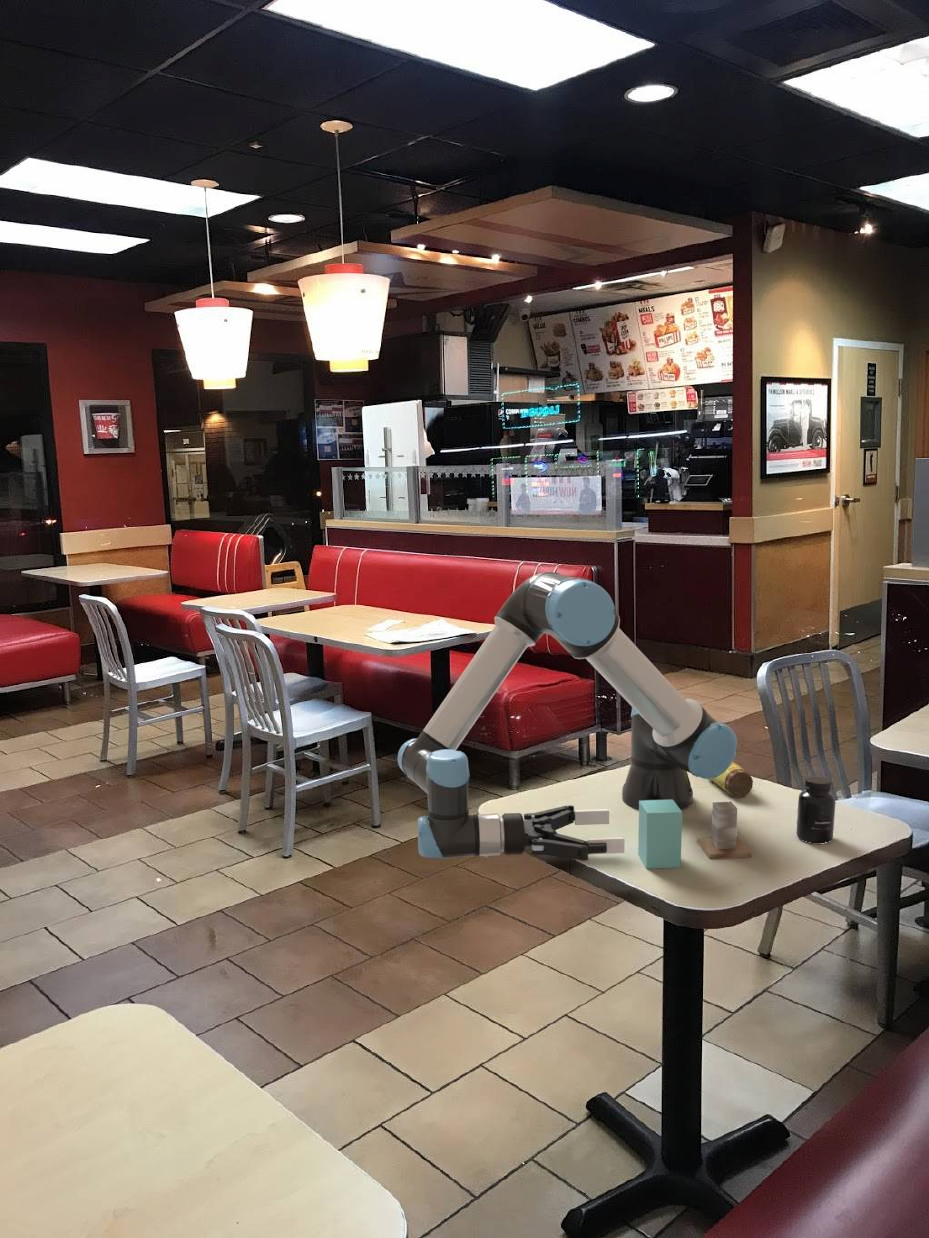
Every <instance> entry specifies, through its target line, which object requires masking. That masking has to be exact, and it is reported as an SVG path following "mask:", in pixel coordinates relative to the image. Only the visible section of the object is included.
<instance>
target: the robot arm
mask: <svg viewBox="0 0 929 1238" xmlns="http://www.w3.org/2000/svg"><path fill="white" fill-rule="evenodd" d="M493 619H494V627H493V629H491V631H490V632H489V634H488V636H487V637H486V638H485V640H484V641H483V642H482V644H481V646H480V647H479V649H478V650H477V651H476V653H475V654H474V656H473V657H472V659H471V660H470V661H469V663H468V664H467V666H466V667H465V669H464V670H463V672H462V673H461V674H460V676H459V677H458V679H457V680H456V682H455V683H454V685H453V686H452V687H451V689H450V691H449V692H448V693H447V695H446V697H445V698H444V699H443V701H442V702H441V703H440V705H439V707H438V708H437V710H436V711H435V713H433V716H432V717H431V718H430V720H429V721H428V723H427V724H426V726H425V727H424V728H423V730H422V731H421V733H420V734H419V736H418V737H417V738H411V739H409V740H407V741H405V742H404V743H403V744H402V745H401V746H400V748H399V750H398V753H397V764H398V767H399V768H400V769H401V771H402V772H403V773H404V775H405V776H406V777H407V779H409V780H410V781H412V782H413V783H415V784H416V785H417V786H418V787H419V788H421V790H422V791H424V793H426V794H427V807H428V808H427V815H423V816H422V815H421V816H420V817H419V818H418V819H417V843H418V844H417V845H418V846H417V847H418V848H417V849H418V853H419V855H420V856H421V857H422V858H432V859H433V858H437V859H438V858H439V859H440V858H441V859H446V858H461V857H462V858H463V857H483V858H489V857H490V856H500V855H501V853H502V852H503V855H505V856H516V855H517V856H518V855H519V856H520V855H523V854H524V853H525V848H526V847H531V854H532V855H534V856H535V855H536V856H537V855H543V856H551V857H557V858H563V859H569V860H570V859H571V860H576V861H581V862H582V861H585V862H586V861H588V860H589V855H608V854H609V855H610V854H625V837H624V836H621V837H620V836H619V837H618V836H617V837H614V836H613V837H592V838H591V837H588V838H587V839H586V840H584V839H580V838H577V837H572V836H568V835H565V834H561V833H558V832H557V831H556V830H559V829H562V828H564V827H566V826H569V825H572V824H574V825H575V826H589V825H590V826H591V825H592V826H593V825H610V810H609V809H608V808H607V809H606V808H603V809H602V808H599V809H579V810H577V809H575V805H572V804H571V805H563V806H559V807H555V808H550V809H549V808H548V809H546V810H541V811H538V812H529V813H524V814H522V813H520V812H514V813H512V812H509V813H503V814H502V815H501V816H500V814H499V813H478V814H470V805H469V804H470V802H469V801H470V799H469V798H470V794H469V792H470V786H469V785H470V784H469V783H470V769H469V760H468V757H467V755H466V754H465V752H462V751H461V750H458V748H459V746H460V745H461V744H462V742H463V741H464V739H465V738H466V736H467V735H468V734H469V732H470V730H472V728H473V726H474V725H475V724H476V721H477V720H478V719H479V717H480V716H481V715H482V713H483V711H484V710H485V708H486V707H487V706H488V705H489V702H491V700H492V699H493V698H494V696H495V694H496V693H497V691H498V690H499V689H500V687H501V686H502V684H503V683H504V681H505V680H506V678H507V676H509V674H510V673H511V671H512V670H513V668H514V667H515V665H516V664H517V663H518V661H519V659H520V658H521V657H522V655H523V654H524V652H525V651H526V650H527V648H528V647H535V646H536V644H537V642H538V641H539V639H541V637H542V636H544V634H546V635H549V636H551V637H552V638H554V639H555V640H556V641H557V642H558V643H559V644H560V645H561V646H562V647H563V649H565V650H566V651H567V652H568V653H569V654H570V656H572V658H574V659H577V660H584V659H586V661H587V662H588V663H590V665H591V666H592V667H593V668H594V669H595V670H596V671H597V672H598V673H599V674H600V675H601V676H602V677H603V678H604V679H605V680H606V681H607V682H608V683H609V684H610V686H612V688H614V690H615V691H616V692H617V693H618V694H620V696H621V697H622V698H623V699H624V700H625V701H626V702H627V703H628V704H629V706H631V713H630V718H631V724H630V725H631V726H630V727H631V730H630V733H631V734H630V741H631V743H630V744H631V745H630V767H629V769H628V773H627V775H626V778H625V782H624V784H623V786H622V790H621V791H622V794H621V795H622V797H621V799H622V801H623V802H624V803H625V804H626V805H627V806H630V807H633V808H635V809H638V810H639V801H643V800H672V799H673V800H674V802H675V803H676V804H677V806H678V807H679V809H680V810H681V811H682V810H685V809H688V808H690V806H691V805H692V804H693V802H694V791H693V788H692V784H691V782H690V781H691V780H690V778H689V774H691V775H692V776H694V777H696V778H700V779H704V780H711V778H716V777H718V776H720V775H721V774H723V773H724V772H725V771H726V770H727V769H728V768H729V767H730V765H731V764H732V762H734V761H735V757H736V755H737V751H736V749H737V747H738V740H737V736H736V733H735V731H734V729H732V728H731V727H730V726H729V725H728V724H725V722H721V721H717V720H716V719H715V718H713V716H711V714H710V713H709V712H708V711H707V710H706V709H705V708H704V707H703V706H702V705H701V704H700V702H698V701H697V700H695V699H692V698H686V697H684V696H683V695H682V694H681V693H680V692H679V691H678V689H676V688H675V687H674V686H673V684H672V683H671V682H670V681H669V680H668V679H667V678H666V677H665V676H664V675H663V673H661V672H660V671H659V670H658V668H657V667H656V666H655V665H654V664H653V663H652V662H651V661H650V660H649V659H648V657H647V656H646V655H645V654H644V653H643V652H642V651H641V650H640V649H639V648H638V647H637V645H636V644H635V643H634V642H633V641H632V640H631V639H630V638H629V637H628V636H627V635H626V634H625V633H624V632H623V631H622V629H621V628H620V624H621V623H620V622H621V618H620V615H618V613H617V612H616V611H615V604H614V602H613V599H612V597H611V596H610V594H609V593H608V592H607V591H606V590H605V589H604V588H603V587H602V586H601V585H599V584H597V583H595V582H594V581H592V580H589V579H587V578H586V579H585V578H582V577H573V576H569V575H564V574H561V573H558V572H554V571H543V572H539V573H536V574H534V575H531V576H530V577H528V578H526V580H524V581H523V582H522V583H521V584H520V585H519V586H518V587H516V589H515V590H514V591H513V592H512V593H511V594H510V595H509V597H508V598H507V600H505V602H504V603H503V605H502V606H501V607H500V609H499V610H498V612H497V613H496V615H495V616H494V618H493ZM688 773H689V774H688Z"/></svg>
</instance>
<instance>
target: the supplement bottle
mask: <svg viewBox="0 0 929 1238" xmlns="http://www.w3.org/2000/svg"><path fill="white" fill-rule="evenodd" d="M797 804H798V805H797V818H796V836H797V838H798V839H799V840H800V841H802V840H804V841H803V842H805V841H807V842H806V843H808V842H811V843H810V844H812V843H825V842H829V841H831V840H832V841H833V838H834V831H835V830H834V828H835V818H836V817H835V815H836V797H835V795H833V793H832V780H831V779H829V778H828V777H824V776H817V775H815V776H814V775H812V776H811V775H810V776H807V777H806V778H805V782H804V789H803V790H802V791H800V792H799V794H798V800H797ZM832 841H831V842H832ZM829 843H830V842H829Z"/></svg>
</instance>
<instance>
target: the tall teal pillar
mask: <svg viewBox="0 0 929 1238" xmlns="http://www.w3.org/2000/svg"><path fill="white" fill-rule="evenodd" d="M682 822H683V811H682V810H680V809H679V807H678V806H677V804H676V803H675V802H674V800H673V799H672V800H643V801H639V809H638V837H637V839H638V845H637V846H638V848H637V850H638V851H637V855H638V857H639V859H640V860H641V862H642V864H643V866H644V868H645V869H668V868H669V869H673V868H681V865H682V864H681V863H682V836H683V835H682V831H683V830H682V829H683V828H682V826H683V823H682Z"/></svg>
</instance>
